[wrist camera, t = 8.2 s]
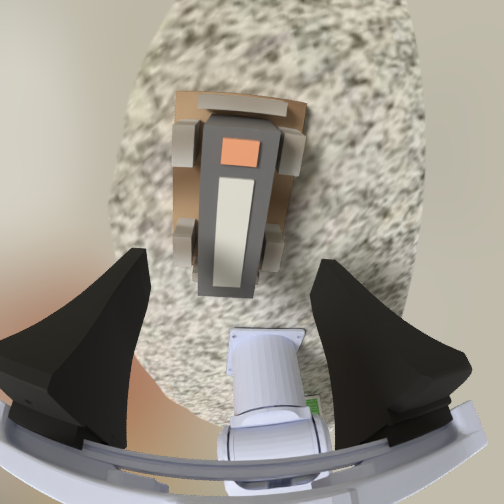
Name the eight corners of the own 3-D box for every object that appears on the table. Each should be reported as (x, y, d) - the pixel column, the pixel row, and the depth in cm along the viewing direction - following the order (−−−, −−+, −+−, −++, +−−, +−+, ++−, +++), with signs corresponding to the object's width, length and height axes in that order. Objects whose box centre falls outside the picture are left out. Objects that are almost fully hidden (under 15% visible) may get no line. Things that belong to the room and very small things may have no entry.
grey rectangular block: (248, 251, 21) (253, 301, 17) (203, 249, 21) (197, 298, 16) (267, 118, 15) (282, 133, 11) (211, 113, 15) (202, 126, 11)
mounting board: (273, 262, 23) (279, 290, 20) (177, 256, 22) (170, 285, 19) (303, 102, 16) (318, 107, 13) (179, 90, 15) (167, 92, 12)
